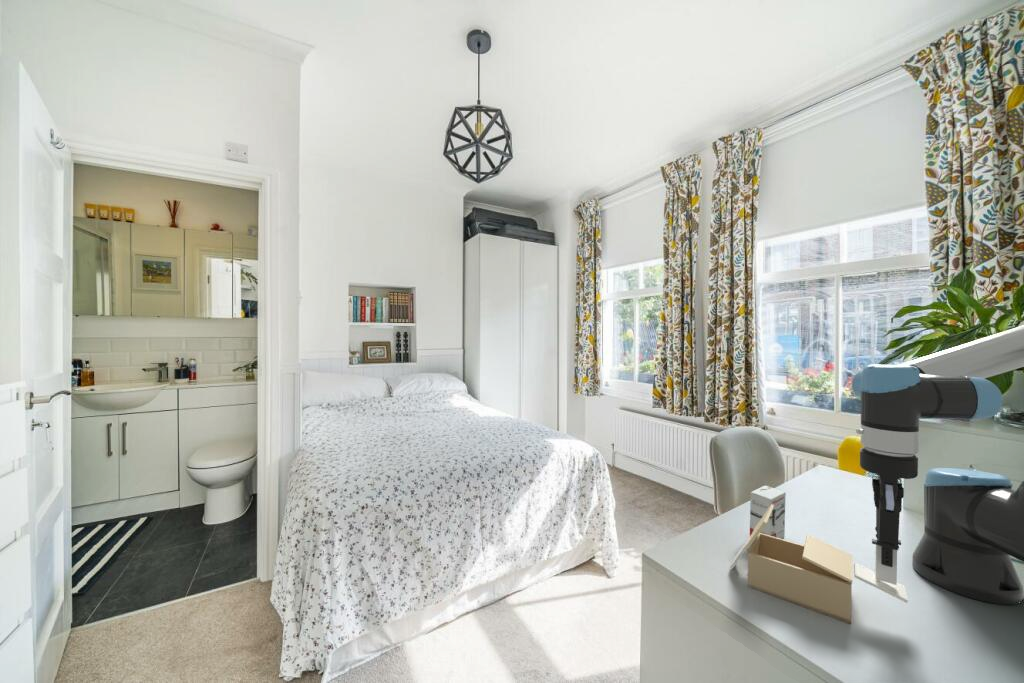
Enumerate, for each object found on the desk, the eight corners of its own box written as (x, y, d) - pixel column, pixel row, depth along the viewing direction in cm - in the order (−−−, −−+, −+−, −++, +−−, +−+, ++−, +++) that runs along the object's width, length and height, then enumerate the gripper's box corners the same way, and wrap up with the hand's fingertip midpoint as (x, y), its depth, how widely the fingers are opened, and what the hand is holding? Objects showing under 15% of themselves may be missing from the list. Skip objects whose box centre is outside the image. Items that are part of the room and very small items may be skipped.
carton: (850, 592, 78) (851, 558, 78) (851, 624, 70) (851, 585, 69) (757, 562, 88) (757, 532, 88) (747, 586, 80) (748, 552, 80)
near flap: (801, 558, 74) (802, 556, 74) (806, 536, 82) (807, 534, 82) (908, 611, 65) (909, 609, 65) (902, 580, 73) (903, 578, 73)
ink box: (770, 546, 95) (770, 498, 95) (748, 537, 99) (749, 491, 99) (785, 536, 100) (786, 490, 99) (764, 528, 104) (765, 484, 103)
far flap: (774, 505, 86) (771, 503, 86) (766, 523, 78) (763, 521, 78) (739, 553, 90) (737, 552, 91) (729, 575, 82) (726, 573, 83)
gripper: (859, 439, 77) (857, 556, 78) (860, 455, 68) (858, 589, 68) (913, 446, 72) (910, 571, 73) (923, 464, 63) (920, 608, 63)
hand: (885, 579), depth 70 cm, fingers closed
